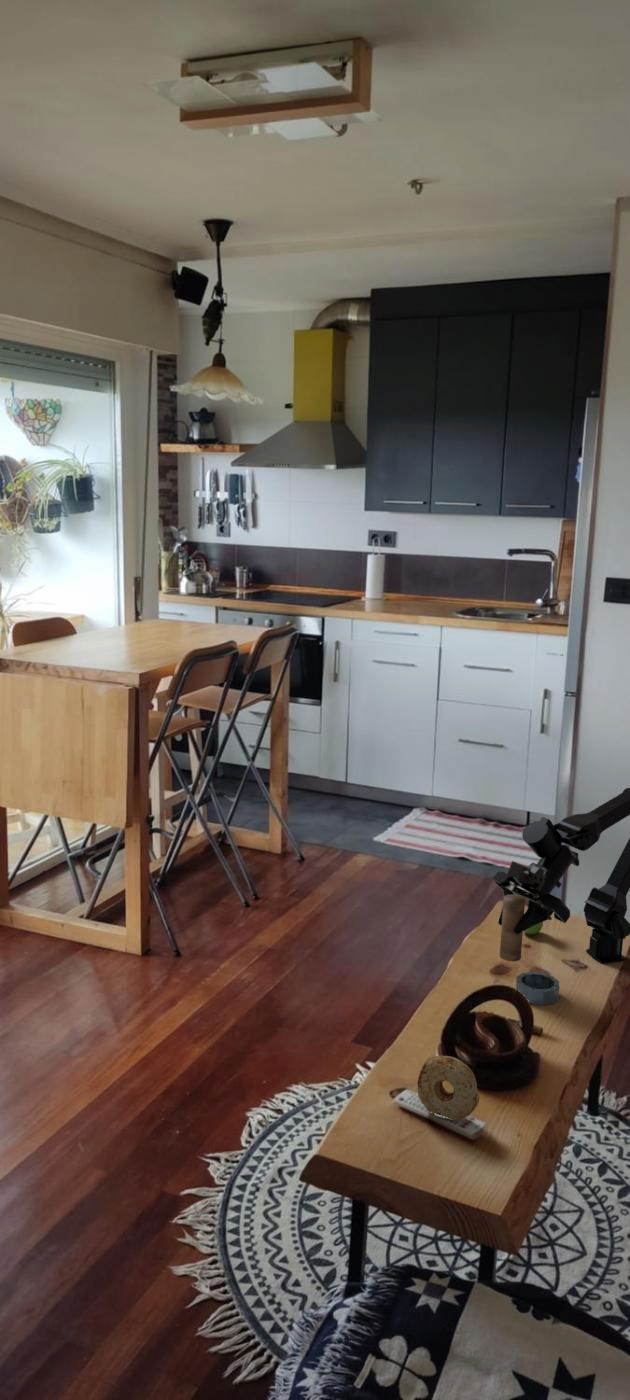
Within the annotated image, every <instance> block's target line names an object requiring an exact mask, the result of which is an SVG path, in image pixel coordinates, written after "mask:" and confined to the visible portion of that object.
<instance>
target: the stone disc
mask: <svg viewBox="0 0 630 1400" xmlns="http://www.w3.org/2000/svg"><path fill="white" fill-rule="evenodd" d="M417 1079H418V1080H417V1083H416V1084H417V1096H418V1098H419V1100H420V1102H421V1103H422V1105H423V1106H424V1108H425V1109H426V1110H427V1111H428V1112H429V1113H430V1112H432V1113H436V1114H439V1115H442V1116H445V1117H448V1118H450V1119H453V1120H452V1121H454V1120H457V1121H462V1120H464V1119H466V1118H467V1117H469V1116H470V1115H471V1114H472V1113H474V1111H475V1110H476V1108H477V1107H478V1104H479V1102H480V1095H479V1090H478V1084H477V1079H476V1077H475V1074H474V1072H473V1070H471V1068H470V1067H469V1066H468V1065H467V1064H466V1063H464V1062H463V1061H461V1060H460V1059H458V1058H456V1057H454V1056H449V1055H436V1056H431V1057H430V1058H428V1059H426V1060H425V1062H424V1063H423V1065H422V1066H421V1069H420V1071H419V1074H418V1078H417ZM443 1082H447V1083H449V1085H451V1086H452V1087H453V1091H448V1090H446V1089H445V1087H444V1085H443ZM432 1113H431V1114H432Z"/></svg>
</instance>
